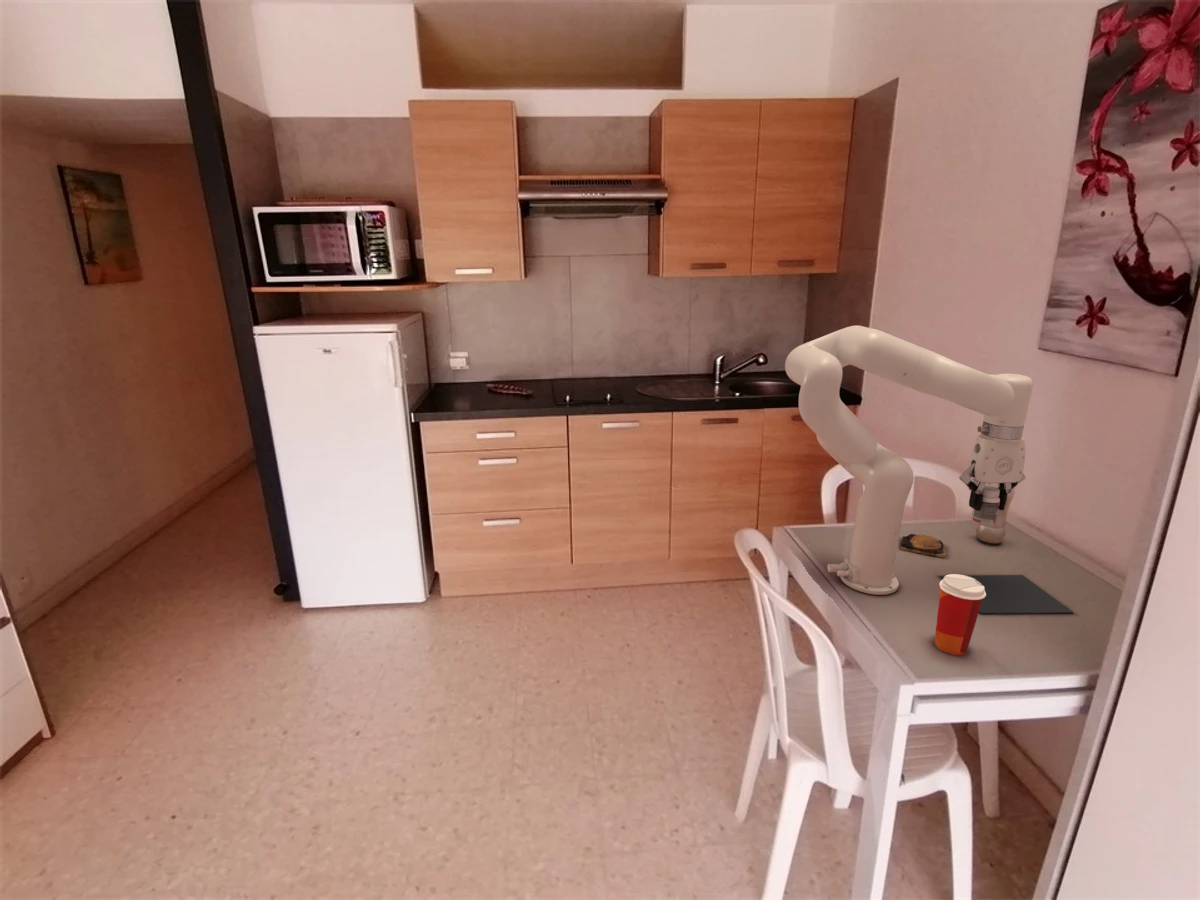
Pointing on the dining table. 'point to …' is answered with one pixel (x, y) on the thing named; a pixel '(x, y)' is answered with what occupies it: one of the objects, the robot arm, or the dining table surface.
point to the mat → (1016, 596)
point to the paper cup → (957, 612)
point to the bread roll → (923, 545)
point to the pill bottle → (987, 507)
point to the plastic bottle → (998, 530)
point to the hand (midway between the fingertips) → (986, 507)
